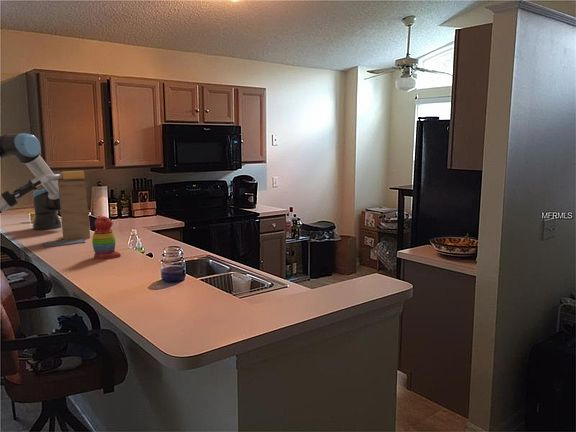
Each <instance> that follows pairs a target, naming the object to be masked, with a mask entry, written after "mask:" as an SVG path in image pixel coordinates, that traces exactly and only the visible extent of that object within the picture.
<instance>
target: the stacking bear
mask: <svg viewBox="0 0 576 432" xmlns="http://www.w3.org/2000/svg"><path fill="white" fill-rule="evenodd" d="M113 223H114V222H113V221H112V220H111V219H110V217H108V216H104V215H103V216H100V215H98V216H97V217H96V219H95V221H94V227H95V231H94V232H93V235H92V248H93V251H94V254H93V255H94V256H93V258H94V259H96V260H106V259H109V260H111V259H116V258H120V257H121V255H122V254H121V253H120V252H118V251H116V250H115V249H116V244H117V243H116V237H115V234H114V231H113V229H111V228H112V226H113Z"/></svg>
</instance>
